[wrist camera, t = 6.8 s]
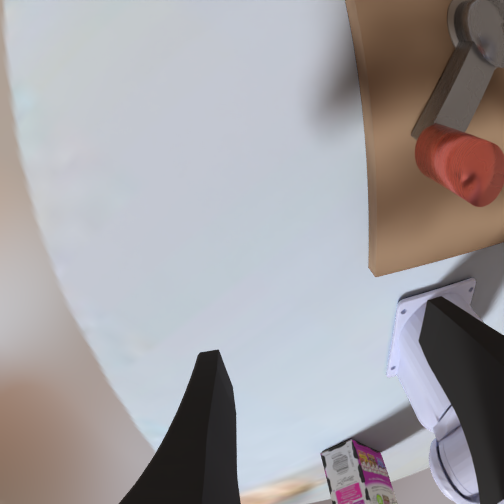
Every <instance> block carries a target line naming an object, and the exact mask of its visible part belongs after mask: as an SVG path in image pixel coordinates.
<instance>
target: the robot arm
mask: <svg viewBox="0 0 504 504" xmlns="http://www.w3.org/2000/svg"><path fill="white" fill-rule="evenodd" d="M475 285H476V280H475V279H474V278H470V279H467V280H464V281H461V282H458V283H455V284H451V285H448V286H445V287H442V288H439V289H436V290H432V291H429V292H426V293H423V294H419V295H416V296H412V297H409V298H405V299H402V300H401V301H399V303H398V305H397V310H396V318H395V324H394V331H393V337H392V343H391V349H390V355H389V360H388V365H387V370H386V375H387V377H393V376H396V375H397V377H398V379H399V381H400V383H401V385H402V387H403V389H404V391H405V393H406V395H407V397H408V399H409V401H410V403H411V405H412V408H413V410H414V412H415V414H416V416H417V418H418V420H419V422H420V423H421V424H422V425H423V426H424V427H425V428H426V429H428V430H430V431H432V432H434V434H435V436H436V438H435V439H434V440H433V441H432V443H431V446H430V453H429V465H430V469H431V472H432V475H433V478H434V480H435V482H436V484H437V486H438V487H439V489H440V490H441V491H442V493H443V494H445V496H446V497H448V498H449V499H451V500H453V501H454V502H455V503H456V504H504V335H502V334H500V333H499V332H497V331H496V330H494V329H492V328H491V327H489V326H488V325H486V324H485V323H484V322H483V321H482V320H481V319H480V317H479V316H478V315H477V314H476V313H475V311H474V310H473V309H472V308H471V307H470V304H471V300H472V297H473V293H474V289H475ZM402 310H403V311H402ZM119 504H241V503H240V496H239V488H238V481H237V447H236V409H235V401H234V393H233V386H232V384H231V381H230V379H229V376H228V373H227V371H226V368H225V365H224V363H223V360H222V357H221V355H220V352H219V350H213V351H207V352H201V353H199V355H198V357H197V360H196V363H195V366H194V369H193V372H192V375H191V378H190V381H189V384H188V386H187V389H186V391H185V394H184V396H183V399H182V401H181V404H180V406H179V408H178V411H177V413H176V415H175V417H174V419H173V421H172V423H171V425H170V427H169V430H168V432H167V434H166V436H165V437H164V439H163V441H162V443H161V445H160V446H159V448H158V450H157V452H156V453H155V455H154V457H153V458H152V460H151V462H150V463H149V464H148V466H147V468H146V469H145V470H144V472H143V474H142V475H141V476H140V478H139V479H138V481H137V482H136V483H135V485H134V486H133V487H132V488H131V490H130V491H129V492H128V493H127V494H126V496H125V497H124V498H123V499H122V500H121V502H120V503H119Z"/></svg>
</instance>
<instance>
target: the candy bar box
mask: <svg viewBox="0 0 504 504" xmlns="http://www.w3.org/2000/svg"><path fill="white" fill-rule="evenodd" d="M321 458H322V462H323V466H324V470H325V474H326V478H327V482H328V486H329V491H330V495H331V500H332V503H333V504H398V503H397V500H396V497H395V495H394V491H393V488H392V485H391V482H390V479H389V476H388V473H387V470H386V467H385V464H384V461H383V458H382V455H381V453H380V452H378V451H376V450H373V449H371V448H369V447H367V446H365V445H363V444H360V443H358V442H356V441H354V440H352V439H350V440H348V441H346V442H343V443H341V444H339V445H337V446H334V447H332V448H330V449H328V450H326V451H324V452H322V453H321Z"/></svg>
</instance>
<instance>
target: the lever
mask: <svg viewBox="0 0 504 504" xmlns="http://www.w3.org/2000/svg"><path fill="white" fill-rule="evenodd" d="M454 28H455V32H456V36H457V38H458V41H459V42H458V44H457V46H456V48H455V50H454V52H453V54H452V57H451V59H450V61H449V63H448V65H447V67H446V69H445V71H444V73H443V75H442V77H441V79H440V81H439V83H438V85H437V87H436V89H435V90H434V92H433V94H432V96H431V98H430V100H429V102H428V104H427V106H426V108H425V109H424V111H423V113H422V115H421V117H420V119H419V120H418V122H417V124H416V126H415V128H414V130H413V131H412V133H411V135H410V136H412V137H413V138H414V139H416V140H417V142H416V146H415V161H416V164H417V166H418V168H419V170H420V171H421V173H423V174H424V175H425V176H427V177H428V178H430V179H432V180H433V181H435V182H437V183H438V184H440V185H442V186H443V187H445V188H447V189H448V190H450V191H451V192H453V193H455V194H456V195H458V196H459V197H461V198H463V199H464V200H466V201H467V202H469V203H470V204H472V205H473V206H476V207H484V206H487V205H489V204H490V203H492V202H493V201H494V200H495V199H496V198H497V196H498V195H499V193H500V192H501V190H502V187H503V185H504V154H503V152H502V150H501V149H500V147H499V146H498V145H496V144H494V143H492V142H490V141H487V140H484V139H482V138H479V137H476V136H474V135H471V134H468V133H465V131H466V129H467V128H468V126H469V124H470V122H471V120H472V118H473V116H474V114H475V112H476V109H477V107H478V105H479V103H480V101H481V99H482V97H483V95H484V93H485V90H486V88H487V86H488V84H489V81H490V79H491V77H492V75H493V72H494V70H495V68H496V67H499V68H504V0H466V1H463V2H461V3H460V4H459V5H458V6H457V8H456V10H455V13H454Z"/></svg>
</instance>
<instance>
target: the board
mask: <svg viewBox="0 0 504 504" xmlns="http://www.w3.org/2000/svg"><path fill="white" fill-rule="evenodd" d="M463 1H466V0H345V2H346V7H347V12H348V17H349V22H350V27H351V33H352V38H353V44H354V50H355V57H356V63H357V70H358V77H359V85H360V93H361V101H362V111H363V121H364V132H365V144H366V158H367V177H368V204H369V267H368V268H369V269H370V270H371V272H372V273H373V275H374V276H375V277H379V276H383V275H387V274H391V273H395V272H399V271H403V270H406V269H410V268H414V267H418V266H422V265H425V264H429V263H433V262H437V261H440V260H444V259H447V258H451V257H455V256H458V255H462V254H465V253H469V252H472V251H476V250H479V249H482V248H486V247H489V246H492V245H496V244H499V243H502V242H504V185H503V187H502V190H501V192H500V193H499V195H498V196H497V198H496V199H495V200H494V201H493V202H492V203H490V204H489V205H487V206H484V207H476V206H473V205H472V204H470V203H469V202H467V201H466V200H464V199H463V198H461V197H459V196H458V195H456V194H455V193H453V192H451V191H450V190H448V189H447V188H445V187H443V186H442V185H440V184H438V183H437V182H435V181H433V180H432V179H430V178H428V177H427V176H425V175H424V174H423V173H421V171H420V170H419V168H418V166H417V164H416V161H415V146H416V142H417V140H416V139H414V138H413V137H412V136H410V135H411V133H412V131H413V130H414V128H415V126H416V124H417V122H418V120H419V119H420V117H421V115H422V113H423V111H424V109H425V108H426V106H427V104H428V102H429V100H430V98H431V96H432V94H433V92H434V90H435V89H436V87H437V85H438V83H439V81H440V79H441V77H442V75H443V73H444V71H445V69H446V67H447V65H448V63H449V61H450V59H451V57H452V54H453V52H454V50H455V48H456V46H457V44H458V42H459V41H458V38H457V36H456V32H455V28H454V13H455V10H456V8H457V6H458V5H459V4H460V3H461V2H463ZM465 133H468V134H471V135H474V136H476V137H479V138H482V139H484V140H487V141H490V142H492V143H494V144H496V145H498V146H499V147H500V149H501V150H502V152H503V154H504V68H499V67H496V68H495V70H494V72H493V75H492V77H491V79H490V81H489V84H488V86H487V88H486V90H485V93H484V95H483V97H482V99H481V101H480V103H479V105H478V107H477V109H476V112H475V114H474V116H473V118H472V120H471V122H470V124H469V126H468V128H467V129H466V131H465Z"/></svg>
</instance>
